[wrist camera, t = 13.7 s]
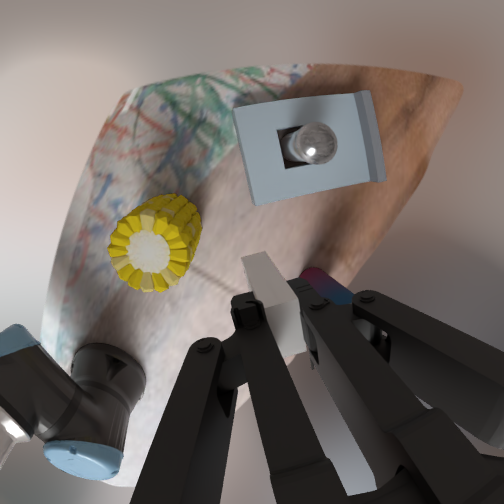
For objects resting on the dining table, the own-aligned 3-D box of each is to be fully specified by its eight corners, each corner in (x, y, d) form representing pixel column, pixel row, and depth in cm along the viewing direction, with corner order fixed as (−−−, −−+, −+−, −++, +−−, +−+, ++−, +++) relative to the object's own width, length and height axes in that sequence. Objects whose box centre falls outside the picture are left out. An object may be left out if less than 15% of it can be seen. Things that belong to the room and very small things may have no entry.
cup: (295, 261, 47) (332, 302, 33) (333, 262, 48) (379, 300, 34) (290, 299, 49) (321, 350, 35) (326, 299, 50) (366, 345, 36)
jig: (252, 203, 43) (259, 208, 38) (231, 112, 39) (235, 104, 34) (368, 178, 45) (386, 180, 40) (353, 96, 40) (369, 90, 35)
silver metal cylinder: (280, 167, 42) (301, 168, 33) (273, 133, 41) (292, 125, 31) (313, 160, 43) (341, 160, 33) (306, 128, 41) (332, 119, 31)
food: (210, 236, 45) (150, 255, 45) (185, 165, 39) (121, 189, 39) (217, 298, 32) (137, 321, 32) (178, 203, 26) (87, 237, 26)
